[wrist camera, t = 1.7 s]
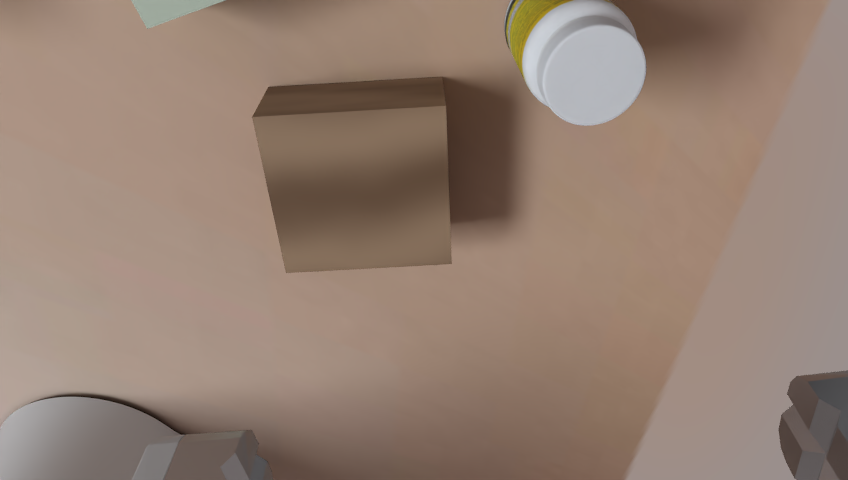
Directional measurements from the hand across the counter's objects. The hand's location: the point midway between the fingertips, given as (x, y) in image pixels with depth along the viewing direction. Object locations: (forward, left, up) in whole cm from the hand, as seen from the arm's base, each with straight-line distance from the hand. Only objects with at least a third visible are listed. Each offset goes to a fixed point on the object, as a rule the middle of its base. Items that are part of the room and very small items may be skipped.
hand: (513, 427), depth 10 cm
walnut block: (-8, +5, -25) cm, 27 cm away
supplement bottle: (-1, -5, -25) cm, 26 cm away
